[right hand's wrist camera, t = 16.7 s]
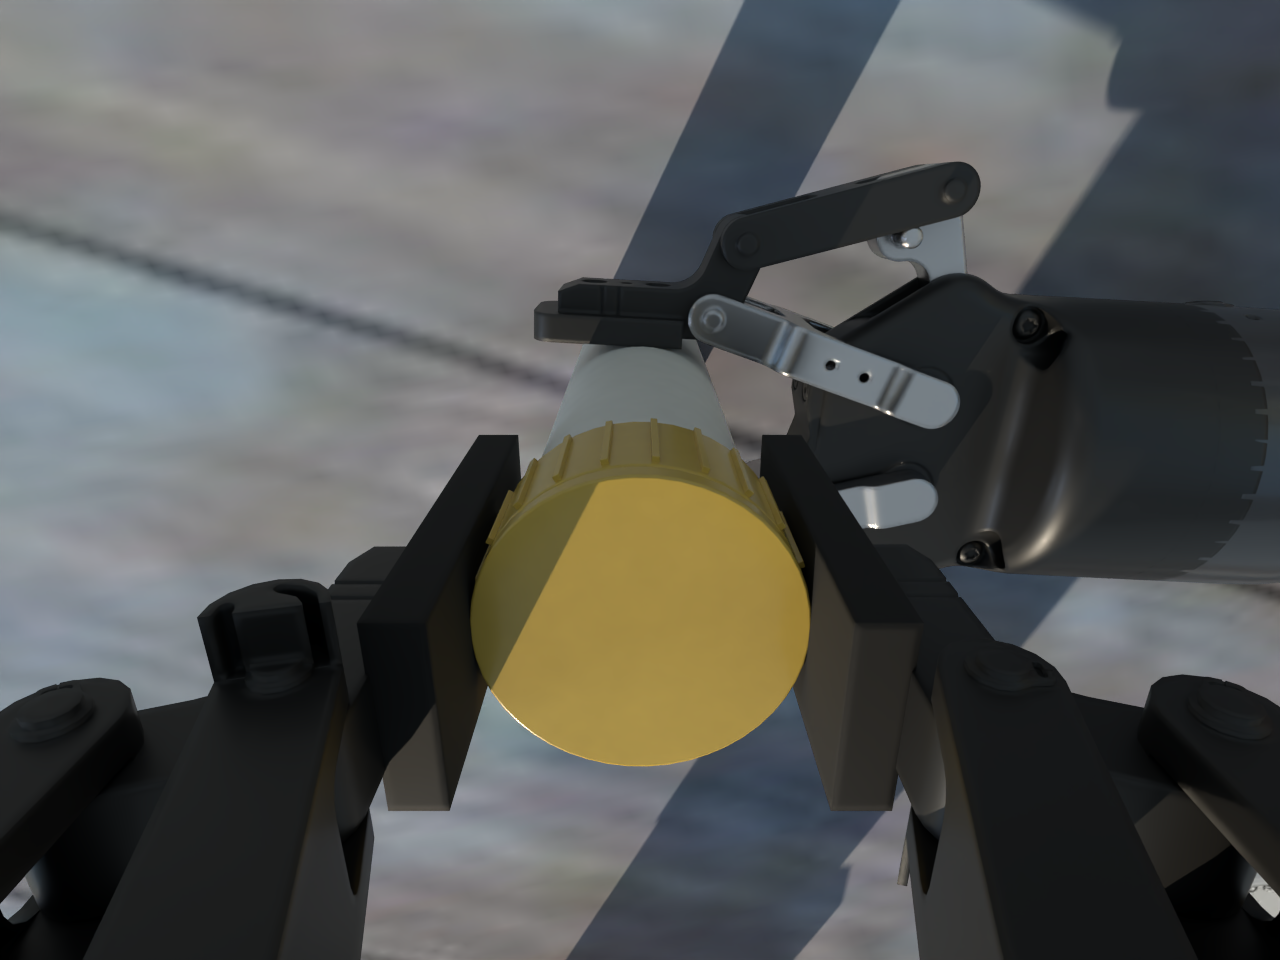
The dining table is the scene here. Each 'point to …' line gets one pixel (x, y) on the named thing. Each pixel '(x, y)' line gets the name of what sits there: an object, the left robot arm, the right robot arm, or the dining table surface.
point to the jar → (640, 391)
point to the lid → (640, 597)
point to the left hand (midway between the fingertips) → (540, 411)
